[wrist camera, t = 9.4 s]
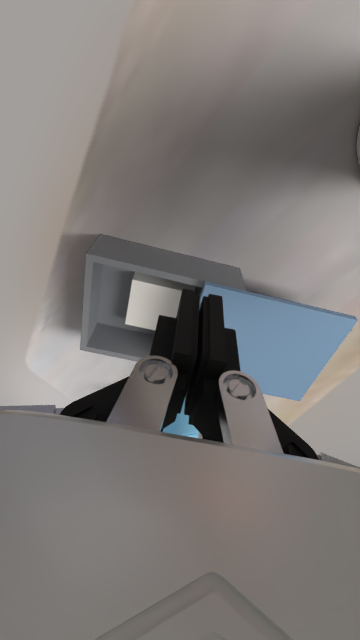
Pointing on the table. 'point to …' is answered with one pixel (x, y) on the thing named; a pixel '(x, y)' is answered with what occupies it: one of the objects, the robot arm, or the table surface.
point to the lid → (280, 338)
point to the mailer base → (118, 287)
